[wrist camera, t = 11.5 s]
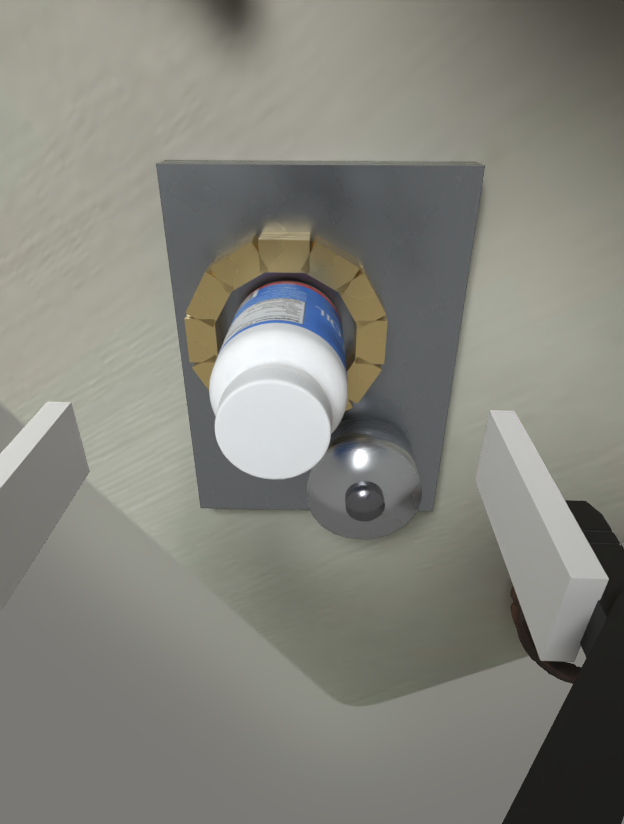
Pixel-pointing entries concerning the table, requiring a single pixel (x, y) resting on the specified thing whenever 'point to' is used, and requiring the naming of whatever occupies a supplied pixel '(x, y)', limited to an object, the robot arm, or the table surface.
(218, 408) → the pill bottle
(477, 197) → the carrier plate
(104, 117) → the table surface
